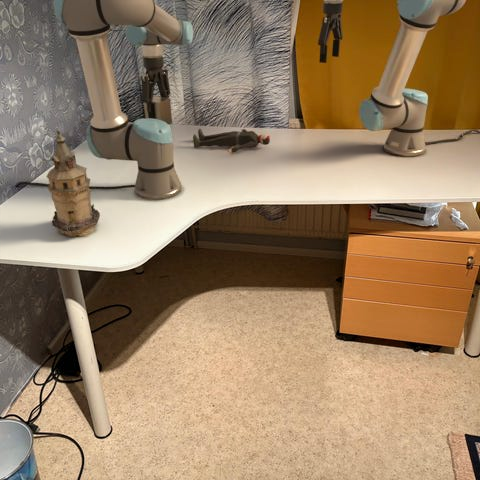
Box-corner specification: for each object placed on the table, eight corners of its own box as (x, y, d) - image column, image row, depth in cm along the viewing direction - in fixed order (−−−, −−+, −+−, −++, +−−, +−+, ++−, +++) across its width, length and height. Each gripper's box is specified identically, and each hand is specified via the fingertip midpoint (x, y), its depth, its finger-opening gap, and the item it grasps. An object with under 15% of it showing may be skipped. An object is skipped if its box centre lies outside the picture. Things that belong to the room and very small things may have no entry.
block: (172, 122, 211) (170, 98, 207) (161, 127, 206) (158, 102, 201) (157, 120, 215) (155, 96, 210) (146, 124, 209) (143, 100, 204)
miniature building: (80, 214, 164) (63, 117, 149) (111, 225, 157) (96, 125, 142) (44, 231, 154) (22, 130, 140) (75, 244, 147) (55, 139, 133)
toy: (204, 122, 226) (274, 122, 220) (205, 136, 229) (274, 137, 223) (186, 142, 204) (264, 143, 198) (188, 157, 207) (264, 159, 201)
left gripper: (161, 50, 207) (166, 109, 218) (127, 60, 192) (134, 122, 203) (177, 52, 204) (181, 111, 215) (143, 61, 189) (149, 125, 200)
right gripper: (335, -2, 217) (331, 53, 228) (311, 5, 198) (308, 64, 209) (353, -1, 214) (348, 54, 224) (330, 6, 195) (326, 66, 205)
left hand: (158, 117), depth 209 cm, fingers closed on block, 7 cm apart
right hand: (329, 59), depth 217 cm, fingers open, 13 cm apart
